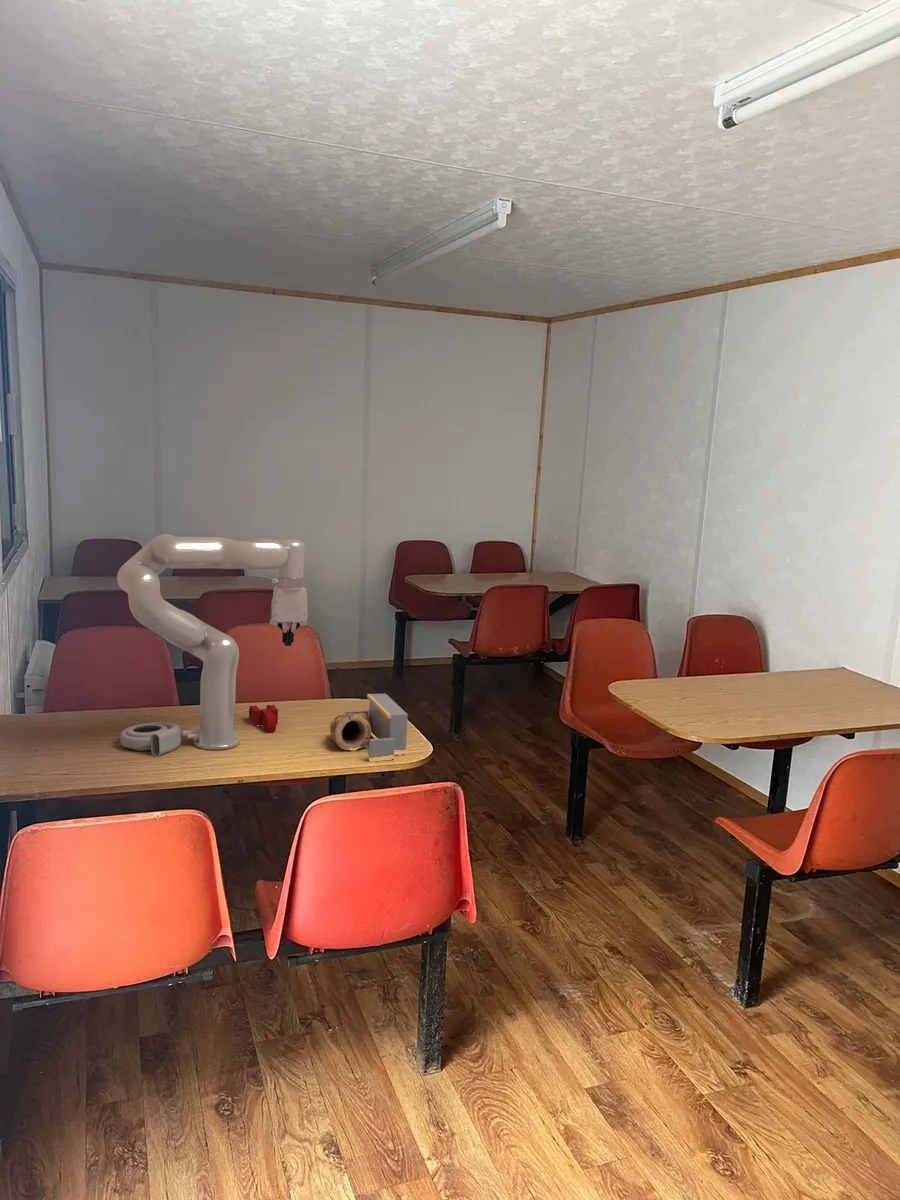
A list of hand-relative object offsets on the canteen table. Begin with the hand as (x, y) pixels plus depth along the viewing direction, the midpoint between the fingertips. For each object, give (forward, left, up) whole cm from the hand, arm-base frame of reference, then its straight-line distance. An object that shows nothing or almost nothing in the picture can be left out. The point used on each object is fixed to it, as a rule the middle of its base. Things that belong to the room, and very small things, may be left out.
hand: (287, 644), depth 253 cm
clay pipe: (+18, -11, -28) cm, 35 cm away
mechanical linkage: (-4, +9, -28) cm, 29 cm away
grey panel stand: (+24, -13, -27) cm, 39 cm away
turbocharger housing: (-37, -4, -28) cm, 46 cm away
